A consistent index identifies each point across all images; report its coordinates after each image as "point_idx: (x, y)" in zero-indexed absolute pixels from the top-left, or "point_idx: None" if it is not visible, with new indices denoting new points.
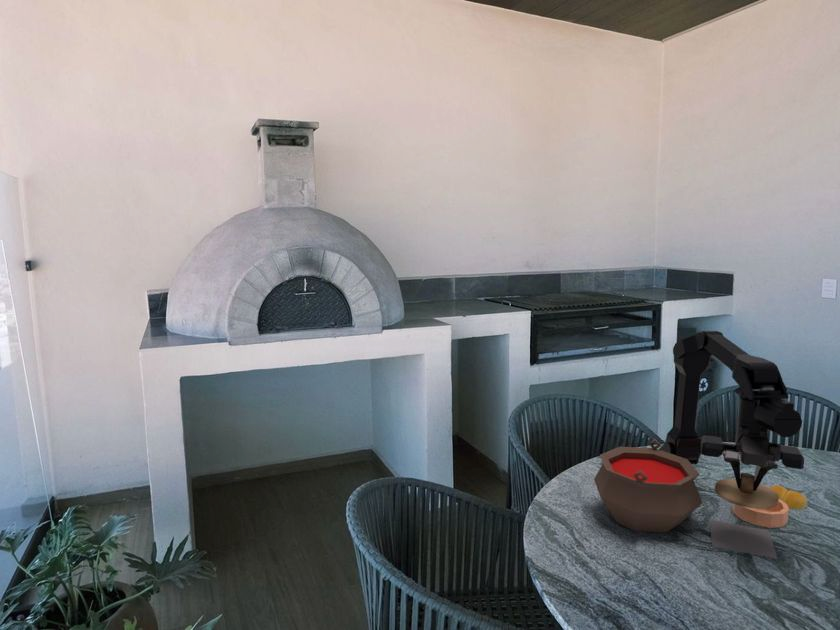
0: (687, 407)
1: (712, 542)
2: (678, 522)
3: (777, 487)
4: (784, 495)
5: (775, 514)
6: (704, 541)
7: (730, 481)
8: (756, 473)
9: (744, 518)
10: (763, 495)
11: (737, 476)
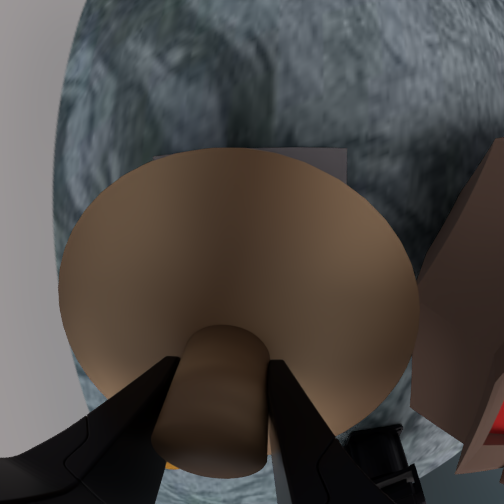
0: None
1: (345, 172)
2: (450, 218)
3: (168, 463)
4: None
5: None
6: (362, 192)
7: None
8: (133, 470)
9: None
10: (126, 327)
11: (303, 428)
